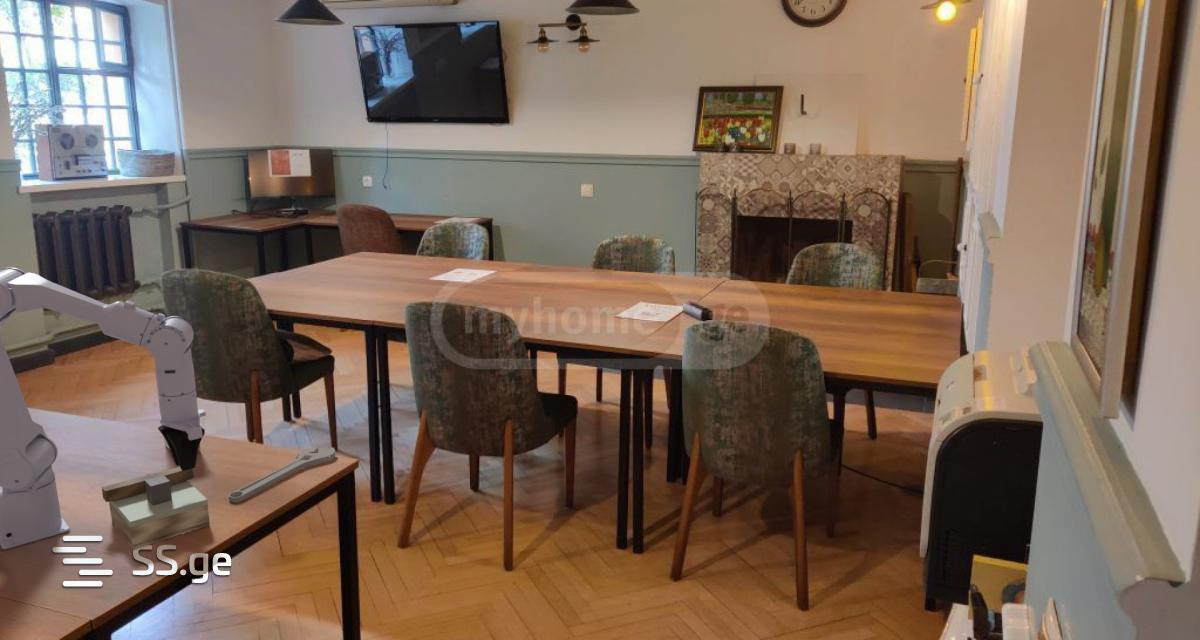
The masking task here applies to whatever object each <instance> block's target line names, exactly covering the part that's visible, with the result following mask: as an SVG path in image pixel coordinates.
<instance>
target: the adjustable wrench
mask: <svg viewBox="0 0 1200 640" xmlns="http://www.w3.org/2000/svg"><path fill="white" fill-rule="evenodd" d="M305 452H309V453H305ZM313 453H314V454H313ZM318 454H319V455H318ZM329 456H330V457H329ZM335 458H336V449H335V448H334V447H330V448H329V449H328V450H327V451H326V452H319V447H318V446H313V447H310V448H307V449H304V450H302V451H300V452H297V455H296V457H295V459H296V460H294V461H292V462H290V463H288V464H286V465H284V466H282V467H280V468H278V469H276V470H274V471H272V472H271V473H268V474H266V475H264V476H262V477H260V478H258V479H256V480H254V481H253V482H250V483H248V484H247V485H244V486H242V487H240V488H238V489H235V490H234V491H231V492H230V493H229V494H228V502H229V503H232V502H233V504H235V503H236V504H237V503H240V502H242V501H245V500H247V499H248V498H251V497H252V496H255V495H256V494H258V493H260V492H262V491H264V490H265V489H268V488H269V487H271V486H273V485H275V484H277V483H279V482H281V481H283V480H285V479H287V478H289V477H291V476H292V475H294V474H296V473H298V472H300V471H302V470H303V468H304V469H306V467H307V468H310V467H312V465H313V466H317V465H320V464H325V463H329V462H331V461H333V460H335ZM309 466H310V467H309ZM301 469H302V470H301ZM299 470H300V471H299ZM297 471H298V472H297ZM293 473H294V474H293ZM291 474H292V475H291ZM286 477H287V478H286ZM284 478H285V479H284ZM282 479H283V480H282ZM280 480H281V481H280ZM278 481H279V482H278ZM276 482H277V483H276ZM274 483H275V484H274Z"/></svg>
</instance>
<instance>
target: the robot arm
mask: <svg viewBox="0 0 1200 640" xmlns="http://www.w3.org/2000/svg"><path fill="white" fill-rule="evenodd" d="M39 309H47V310H51V311H53V312H57V313H60V314H63V315H67V316H71V317H74V318H77V319H81V320H83V321H87V322H90V323H94V324H97V325H98V327H99V328H100V331H101V332H102V333H103V335H105V336H108V337H111V338H115V339H118V340H121V341H123V342H126V343H130V344H132V345H135V346H137V347H141V348H143V349H147V351H148V353H149V354H150V355H151V356H152V357H153V359H154V365H155V366H154V371H155V378H156V380H155V381H156V387H157V388H156V389H157V397H158V405H159V423H160V425H159V426H158V427H157V430H158V431H159V432H160V434H161V435H162V436H163V439H164V438H165V440H166V442H167V444H168V446H169V448H168V450H169V452H170V453H171V457H172V459H173V461H174V464H175V465H176V467H180V468H181V470H182V471H185V470H189V469H192V468H193V469H195V468H196V465H197V458H198V453H199V452H198V448H199V444H200V445H201V442H202V440H203V437H204V436H205V434H206V433H205V431H206V429H204V428H203V427H202V426H201V418H202V417H206V415H207V412H206V410H204V409H203V408H198V406H199V405H198V398H197V389H196V378H195V370H194V369H195V368H194V362H193V355H192V348H191V347H189V346H190V345H191V343H193V342H192V341H193V339H194V335H195V334H194V329H193V327H192V325H191V323H189V322H188V321H187V320H185V319H183V318H181V317H180V316H178V315H172V316H168V317H167V316H166V314H164V313H160V312H159V313H158V314H155V313H153V312H151V311H147V310H145V309H143V308H139V307H137V306H136V303H135V302H134V301H130V300H126V301H125V302H122V301H119V300H118V301H116V302H115V301H114V302H113V303H111V304H107V303H104V302H101V301H100V300H96V299H94V298H92V297H89V296H87V295H84V294H83V293H82V294H81V293H80V292H77V291H75V290H72V289H70V288H67V287H65V286H63V285H60V284H58V283H55V282H52V281H51V280H48V279H46V278H44V277H43V276H41V275H39V274H37V273H33V272H29V271H27V272H26V271H25V270H22V269H20V268H16V267H4V268H1V269H0V330H1V329H2V328H3V326H4V325H5V324H6V322H7V321H8V319H9V318H10V317H11V316H12V314H14V313H17V314H18V313H19V314H20V313H25V312H28V311H33V310H39ZM58 453H59V452H58V447H57V445H56V443H55V442H54V440H53V439H51V438H50V437H49V436H48V435H47V434H46V433H45V430H44V427H43V426H42V425H41V424H40V423H37V422H35V421H34V420H33V419H32V417H31V414H30V411H29V407H28V406H27V403H26V400H25V397H24V395H23V393H22V390H21V387H20V384H19V382H18V379H17V376H16V374H15V371H14V368H13V365H12V363H11V361H10V358H9V354H8V353H7V350H6V347H5V345H4V342H3V339H2V337H1V335H0V546H1V549H2V550H8V549H11V548H15V547H18V546H22V545H26V544H29V543H32V542H36V541H39V540H43V539H46V538H50V537H54V536H57V535H60V534H64V533H67V532H69V531H70V527H69V525H68V523H67V522H66V520H65V519H64V518H63V517H62V514H61V507H60V502H59V495H58V487H57V482H56V476H55V475H56V474H55V471H54V470H53V464H54V463H55V461H56V460H57V458H58Z"/></svg>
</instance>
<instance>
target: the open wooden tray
mask: <svg viewBox="0 0 1200 640" xmlns="http://www.w3.org/2000/svg"><path fill="white" fill-rule="evenodd" d="M108 504H109V512H110V518H111V523H112V525H113V524H114V525H115V526H116V527H115V526H114V525H113V526H114V527H115V529H118V530H119V531H118V530H117V531H118V532H119V533H120V534H121V536H122V537H123V538H124V540H126V542H127V543H128V544H129V546H130V547H131V548H132V550H137V549H140V548H143V547H146V545H147V546H149V545H152V544H155V542H156V543H159V542H162V541H161V540H163V541H165V539H166V540H169V539H172V538H175V537H178V536H180V535H179V534H182V533H185V534H187V533H186V532H188V533H190V532H189V531H191V532H193V531H192V530H194V531H197V530H196V529H198V530H200V529H199V528H201V529H203V528H202V527H204V528H206V526H207V527H209V526H208V525H210V526H211V524H210V522H211V521H210V516H209V514H210V513H209V505H205V506H202V507H198V508H195V509H192V510H188V511H185V512H181V513H178V514H175V515H171V516H168V517H165V518H161V519H158V520H155V521H151V522H148V523H144V524H141V525H138V526H134V527H130V526H129V525H128V524H127V522H126V521H125V520H124V519H123V518H122V516H121V515H120V514H119V513H118V512H117V510H116V509H115V508H114V507H113V506H112V505H111V503H110V502H108ZM177 535H178V536H177ZM182 535H183V534H182ZM174 536H175V537H174ZM171 537H172V538H171ZM168 538H169V539H168ZM158 541H159V542H158ZM139 547H140V548H139ZM136 548H137V549H136Z"/></svg>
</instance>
